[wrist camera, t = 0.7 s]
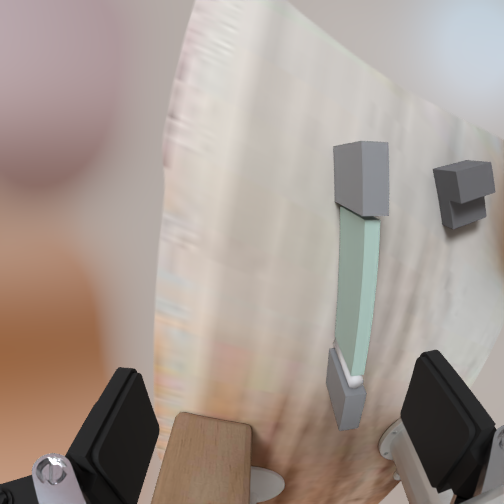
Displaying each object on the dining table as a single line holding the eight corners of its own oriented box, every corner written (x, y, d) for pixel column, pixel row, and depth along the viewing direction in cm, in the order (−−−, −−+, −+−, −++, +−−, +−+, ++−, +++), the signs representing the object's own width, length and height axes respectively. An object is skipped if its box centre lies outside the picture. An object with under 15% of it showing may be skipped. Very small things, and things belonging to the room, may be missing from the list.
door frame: (342, 380, 33) (358, 428, 26) (326, 382, 33) (339, 430, 26) (353, 146, 26) (388, 142, 18) (333, 146, 26) (361, 140, 18)
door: (345, 346, 31) (362, 387, 25) (332, 348, 32) (347, 389, 25) (353, 205, 27) (381, 219, 20) (339, 206, 27) (363, 220, 21)
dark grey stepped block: (431, 168, 26) (456, 171, 22) (465, 160, 26) (491, 162, 22) (441, 224, 28) (464, 234, 24) (473, 212, 28) (498, 221, 23)
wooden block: (253, 422, 35) (250, 560, 16) (239, 461, 38) (232, 574, 19) (177, 407, 35) (139, 541, 16) (173, 448, 38) (146, 559, 19)
